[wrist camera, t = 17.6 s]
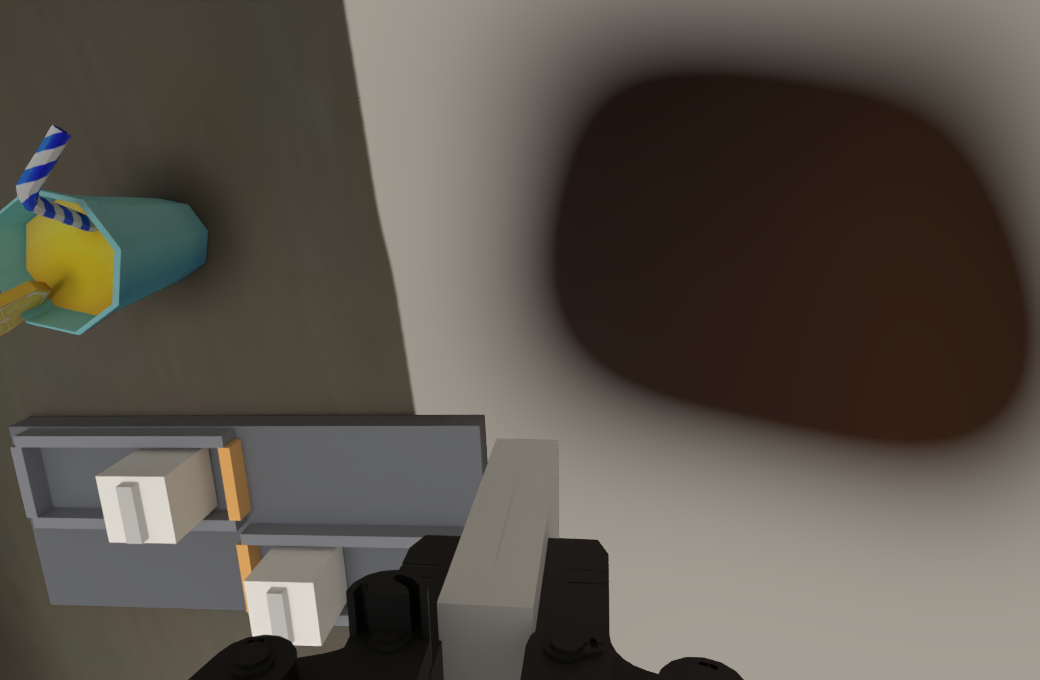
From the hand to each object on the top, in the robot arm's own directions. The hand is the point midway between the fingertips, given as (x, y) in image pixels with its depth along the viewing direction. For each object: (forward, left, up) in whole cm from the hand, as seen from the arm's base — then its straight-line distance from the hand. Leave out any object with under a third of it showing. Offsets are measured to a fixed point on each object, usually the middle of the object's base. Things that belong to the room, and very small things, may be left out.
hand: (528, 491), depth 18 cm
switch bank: (+16, -23, -29) cm, 40 cm away
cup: (-4, -26, -29) cm, 39 cm away
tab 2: (+19, -18, -27) cm, 38 cm away
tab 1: (+12, -27, -27) cm, 40 cm away
